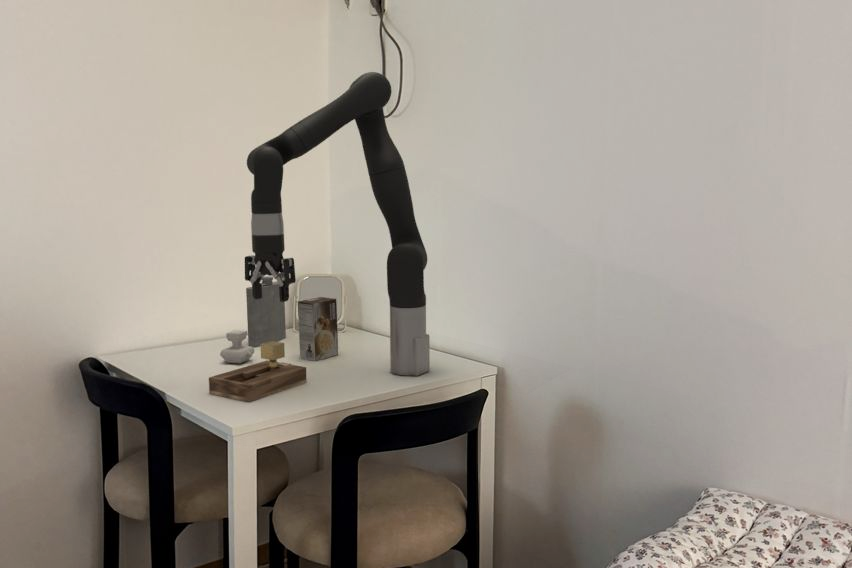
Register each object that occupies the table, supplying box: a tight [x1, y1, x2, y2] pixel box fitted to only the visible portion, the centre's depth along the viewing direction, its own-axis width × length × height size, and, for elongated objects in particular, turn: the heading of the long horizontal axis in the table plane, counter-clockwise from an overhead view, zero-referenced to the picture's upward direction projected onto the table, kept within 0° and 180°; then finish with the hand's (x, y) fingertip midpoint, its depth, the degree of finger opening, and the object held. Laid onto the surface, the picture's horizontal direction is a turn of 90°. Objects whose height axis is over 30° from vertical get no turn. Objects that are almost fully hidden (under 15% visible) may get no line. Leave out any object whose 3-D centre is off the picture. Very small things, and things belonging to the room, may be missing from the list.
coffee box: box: [297, 296, 339, 362], centre depth 211 cm, size 9×6×16 cm
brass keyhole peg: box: [260, 341, 286, 371], centre depth 185 cm, size 4×4×9 cm
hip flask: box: [245, 275, 287, 349], centre depth 229 cm, size 16×4×20 cm, turn 153°
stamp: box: [219, 329, 255, 364], centre depth 206 cm, size 9×7×8 cm
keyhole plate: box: [208, 359, 307, 403], centre depth 182 cm, size 13×19×4 cm
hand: (270, 300), depth 183 cm, fingers open, 8 cm apart
